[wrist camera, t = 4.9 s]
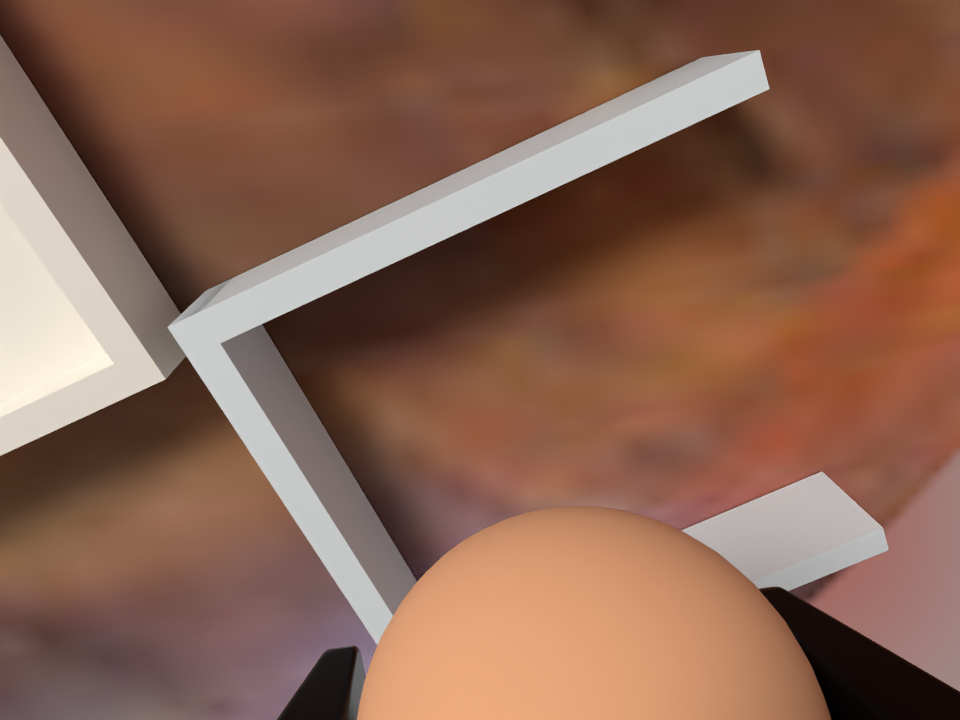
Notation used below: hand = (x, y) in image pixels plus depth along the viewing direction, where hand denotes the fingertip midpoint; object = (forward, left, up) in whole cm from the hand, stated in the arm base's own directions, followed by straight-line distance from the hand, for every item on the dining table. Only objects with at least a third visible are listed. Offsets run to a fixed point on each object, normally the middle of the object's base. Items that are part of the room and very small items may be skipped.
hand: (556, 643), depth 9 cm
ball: (0, 0, -1) cm, 1 cm away
